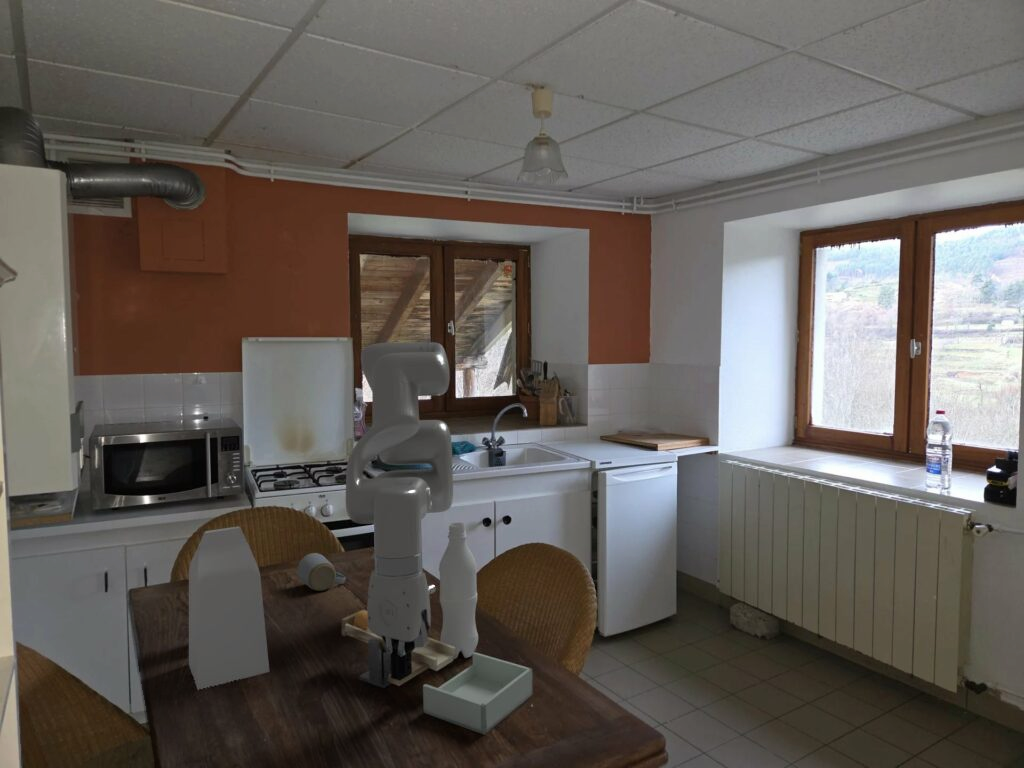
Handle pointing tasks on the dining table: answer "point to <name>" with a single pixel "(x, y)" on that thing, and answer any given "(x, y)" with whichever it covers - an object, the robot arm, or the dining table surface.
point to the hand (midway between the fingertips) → (401, 676)
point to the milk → (225, 611)
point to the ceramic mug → (318, 572)
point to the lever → (422, 657)
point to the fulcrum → (377, 665)
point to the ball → (361, 620)
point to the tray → (480, 694)
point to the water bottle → (458, 593)
